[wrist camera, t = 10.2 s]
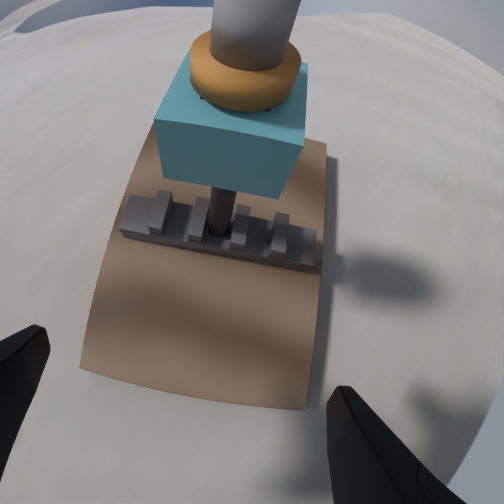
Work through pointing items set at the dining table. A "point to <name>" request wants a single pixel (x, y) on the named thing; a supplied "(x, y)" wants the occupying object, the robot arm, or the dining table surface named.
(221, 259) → the wooden base post stand
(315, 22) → the dining table surface
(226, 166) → the sleeve
